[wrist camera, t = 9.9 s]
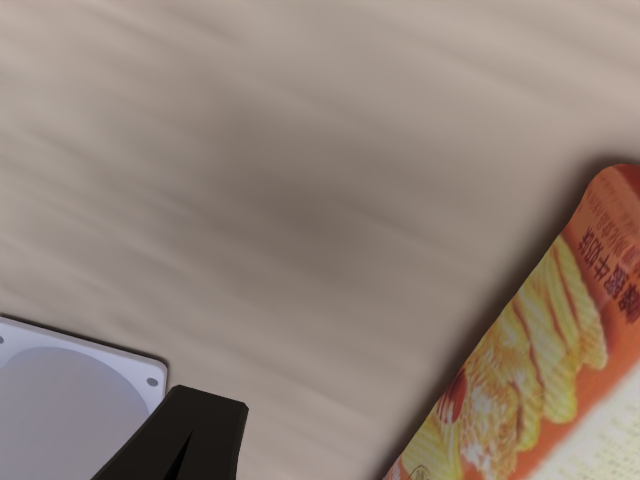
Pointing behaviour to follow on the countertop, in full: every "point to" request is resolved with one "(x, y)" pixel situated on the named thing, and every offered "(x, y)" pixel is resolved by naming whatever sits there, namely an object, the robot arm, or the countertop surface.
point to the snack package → (552, 363)
